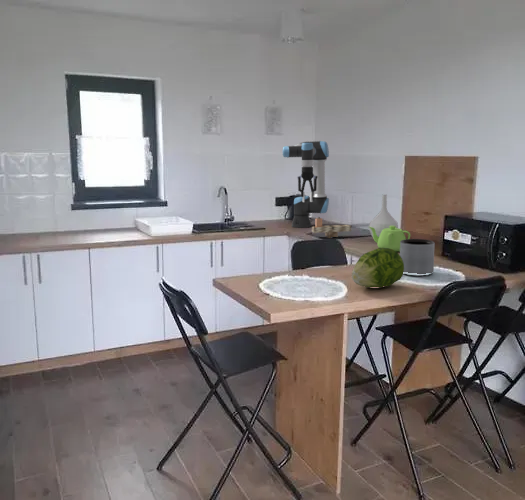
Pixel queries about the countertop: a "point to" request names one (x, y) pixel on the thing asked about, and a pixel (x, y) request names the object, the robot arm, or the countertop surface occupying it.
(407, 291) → the countertop surface
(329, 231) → the beam
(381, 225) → the vase
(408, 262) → the planter
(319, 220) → the block
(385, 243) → the teapot
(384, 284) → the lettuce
